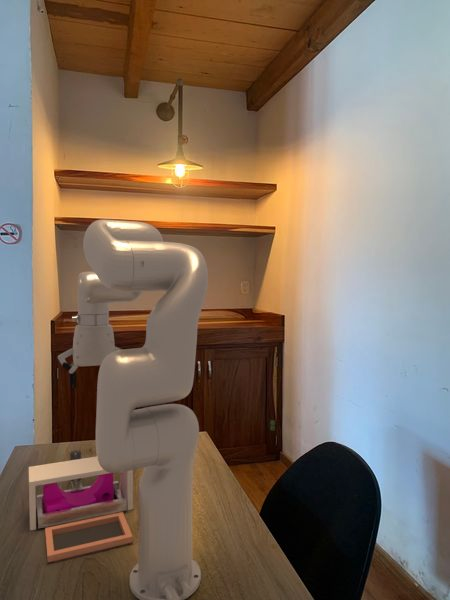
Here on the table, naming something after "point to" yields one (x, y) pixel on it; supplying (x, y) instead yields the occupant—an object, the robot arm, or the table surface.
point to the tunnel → (70, 472)
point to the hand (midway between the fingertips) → (93, 385)
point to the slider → (81, 511)
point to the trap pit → (87, 537)
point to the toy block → (77, 495)
